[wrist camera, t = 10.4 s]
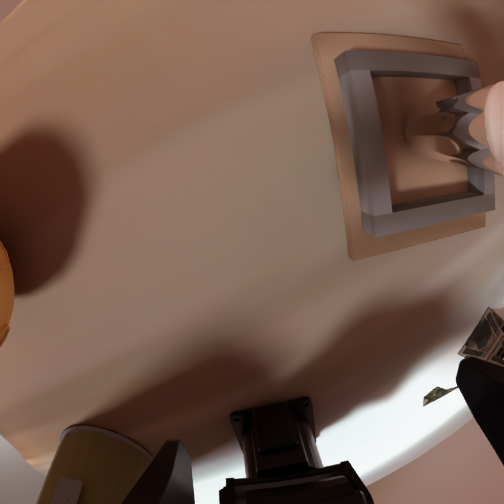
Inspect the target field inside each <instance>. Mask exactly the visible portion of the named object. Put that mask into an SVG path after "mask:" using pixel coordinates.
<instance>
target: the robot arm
mask: <svg viewBox="0 0 504 504" xmlns="http://www.w3.org/2000/svg"><path fill="white" fill-rule="evenodd" d="M456 383H457V386H458V388H459V389H460V391H461V393H462V395H463V397H464V399H465V401H466V403H467V405H468V407H469V409H470V411H471V413H472V415H473V417H474V418H475V420H476V422H477V423H478V425H479V426H480V428H481V429H482V431H483V432H484V434H485V436H486V437H487V439H488V441H489V442H490V444H491V445H492V447H493V449H494V450H495V452H496V454H497V455H498V457H499V459H500V460H501V462H502V464H503V465H504V366H501V365H498V364H495V363H491V362H488V361H485V360H482V359H479V358H476V357H473V356H469V357H467V358H465V359H463V360H461V362H460V364H459V368H458V372H457V376H456ZM304 403H305V404H304ZM235 417H238V418H235ZM230 421H231V424H232V426H233V429H234V432H235V434H236V437H237V439H238V442H239V444H240V447H241V449H242V452H243V454H244V463H245V472H246V478H241V479H234V478H226V486H225V487H223V489H221V490H219V502H220V504H374V502H373V499H372V497H371V494H370V493H369V491H368V489H367V488H366V486H365V485H364V484H363V482H362V481H361V479H360V478H359V476H358V475H357V473H356V472H355V470H354V469H353V467H352V466H351V464H350V463H349V461H344V462H341V463H340V464H336V465H331V466H326V467H323V465H322V461H321V458H320V455H319V452H318V449H317V446H316V436H315V427H314V417H313V408H312V402H311V400H310V398H308V397H304V398H300V399H296V400H292V401H287V402H283V403H278V404H274V405H269V406H264V407H259V408H254V409H249V410H243V411H238V412H233V413H231V414H230ZM120 504H195V500H194V489H193V479H192V467H191V458H190V455H189V453H188V451H187V449H186V448H185V446H184V444H183V442H182V441H181V440H180V439H169V440H167V441H165V443H164V444H163V445H162V447H161V448H160V450H159V451H158V452H157V454H156V455H155V457H154V458H153V459H152V461H151V462H150V464H149V465H148V466H147V468H146V469H145V471H144V472H143V473H142V475H141V476H140V477H139V479H138V480H137V482H136V483H135V484H134V486H133V487H132V488H131V490H130V491H129V493H128V494H127V495H126V497H125V498H124V499H123V501H122V502H121V503H120Z"/></svg>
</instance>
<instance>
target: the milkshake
mask: <svg viewBox="0 0 504 504" xmlns="http://www.w3.org/2000/svg"><path fill="white" fill-rule="evenodd" d="M404 136H405V138H406V140H407V142H408V144H409V146H410V148H411V150H413V151H414V152H416V153H418V154H419V155H421V156H423V157H426V158H431V159H436V160H441V161H446V162H451V163H455V164H460V165H464V166H469V167H473V168H477V169H481V170H484V171H487V172H491V173H494V174H497V175H500V176H503V177H504V81H501V82H498V83H494V84H491V85H488V86H484V87H481V88H478V89H475V90H472V91H469V92H466V93H463V94H460V95H457V96H453V97H450V98H446V99H443V100H440V101H436V102H433V103H430V104H427V105H423V106H420V107H417V108H414V109H412V110H411V111H410V113H409V114H408V116H407V117H406V119H405V120H404Z"/></svg>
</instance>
